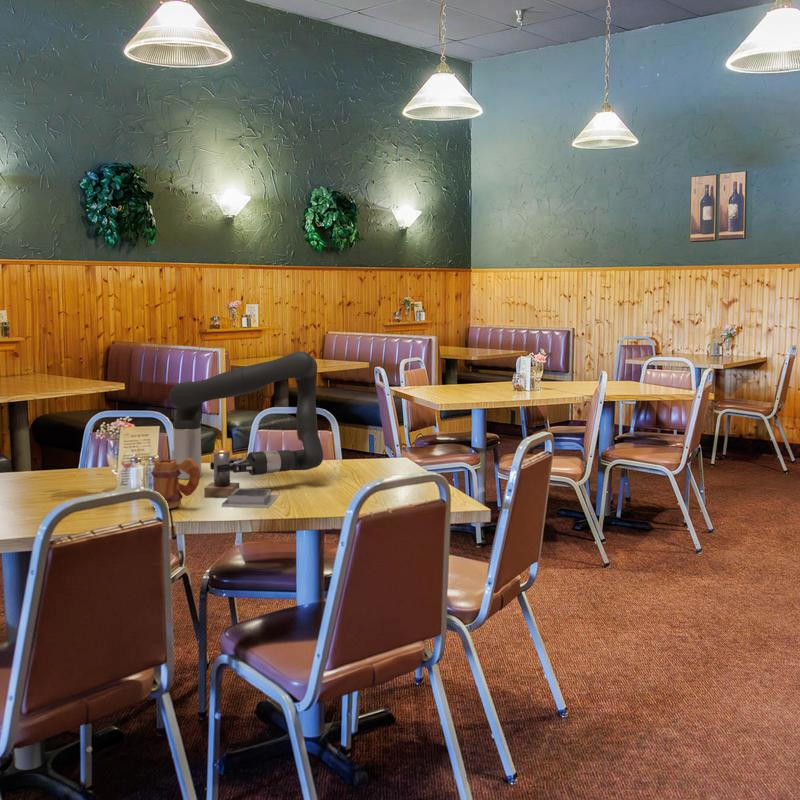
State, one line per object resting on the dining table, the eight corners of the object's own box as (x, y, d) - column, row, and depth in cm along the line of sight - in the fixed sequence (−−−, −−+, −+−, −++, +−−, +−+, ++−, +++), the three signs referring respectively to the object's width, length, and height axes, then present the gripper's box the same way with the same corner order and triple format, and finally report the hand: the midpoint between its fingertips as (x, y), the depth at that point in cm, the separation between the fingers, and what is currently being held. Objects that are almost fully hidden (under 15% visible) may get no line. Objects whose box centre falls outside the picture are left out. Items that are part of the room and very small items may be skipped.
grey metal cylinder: (212, 486, 282) (211, 451, 281) (216, 483, 287) (215, 448, 286) (228, 487, 282) (227, 451, 281) (231, 483, 287) (231, 449, 286)
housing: (221, 506, 268) (221, 496, 268) (232, 496, 282) (232, 487, 282) (268, 507, 267) (268, 497, 267) (276, 497, 281) (276, 488, 281)
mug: (146, 510, 263) (145, 459, 261) (157, 504, 271) (156, 455, 269) (194, 512, 261) (193, 461, 259) (204, 506, 269) (203, 456, 267)
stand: (204, 497, 281) (204, 487, 281) (211, 491, 290) (211, 482, 290) (233, 497, 280) (232, 488, 280) (239, 491, 289) (239, 482, 289)
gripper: (254, 448, 297) (205, 452, 288) (272, 454, 285) (222, 459, 276) (255, 470, 298) (205, 475, 289) (273, 477, 286) (222, 483, 277)
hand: (214, 467), depth 283 cm, fingers closed on grey metal cylinder, 5 cm apart
